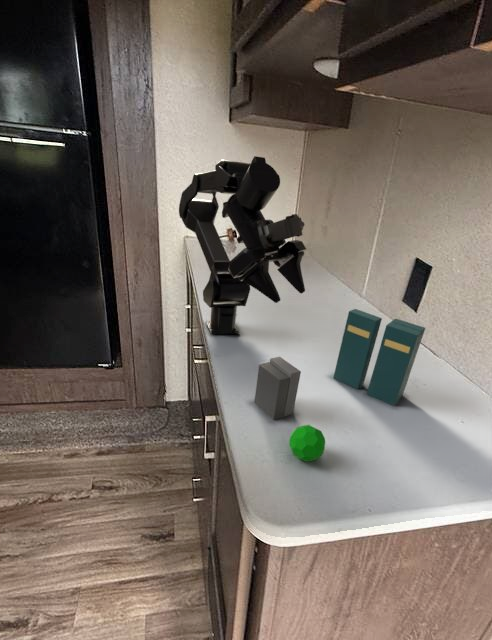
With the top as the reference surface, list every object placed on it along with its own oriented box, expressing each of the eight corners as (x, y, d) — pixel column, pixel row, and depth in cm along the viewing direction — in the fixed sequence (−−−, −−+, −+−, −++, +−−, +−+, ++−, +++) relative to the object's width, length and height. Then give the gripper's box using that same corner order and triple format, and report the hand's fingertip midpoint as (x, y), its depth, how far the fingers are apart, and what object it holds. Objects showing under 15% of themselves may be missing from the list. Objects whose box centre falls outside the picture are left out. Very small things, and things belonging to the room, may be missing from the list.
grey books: (254, 402, 67) (259, 360, 63) (273, 397, 69) (279, 356, 65) (273, 420, 63) (280, 376, 59) (293, 413, 65) (301, 371, 62)
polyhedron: (301, 472, 53) (308, 444, 51) (280, 451, 57) (285, 424, 54) (328, 461, 56) (335, 434, 54) (306, 441, 59) (312, 415, 57)
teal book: (333, 378, 78) (348, 311, 71) (339, 374, 80) (355, 308, 73) (357, 389, 75) (376, 321, 69) (363, 385, 77) (382, 318, 70)
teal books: (366, 394, 74) (386, 325, 67) (375, 384, 78) (395, 318, 71) (394, 406, 72) (418, 335, 65) (402, 395, 76) (425, 327, 69)
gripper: (248, 196, 63) (297, 283, 63) (305, 197, 77) (344, 267, 78) (208, 237, 70) (252, 315, 70) (267, 231, 84) (303, 295, 85)
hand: (291, 296), depth 75 cm, fingers open, 9 cm apart
